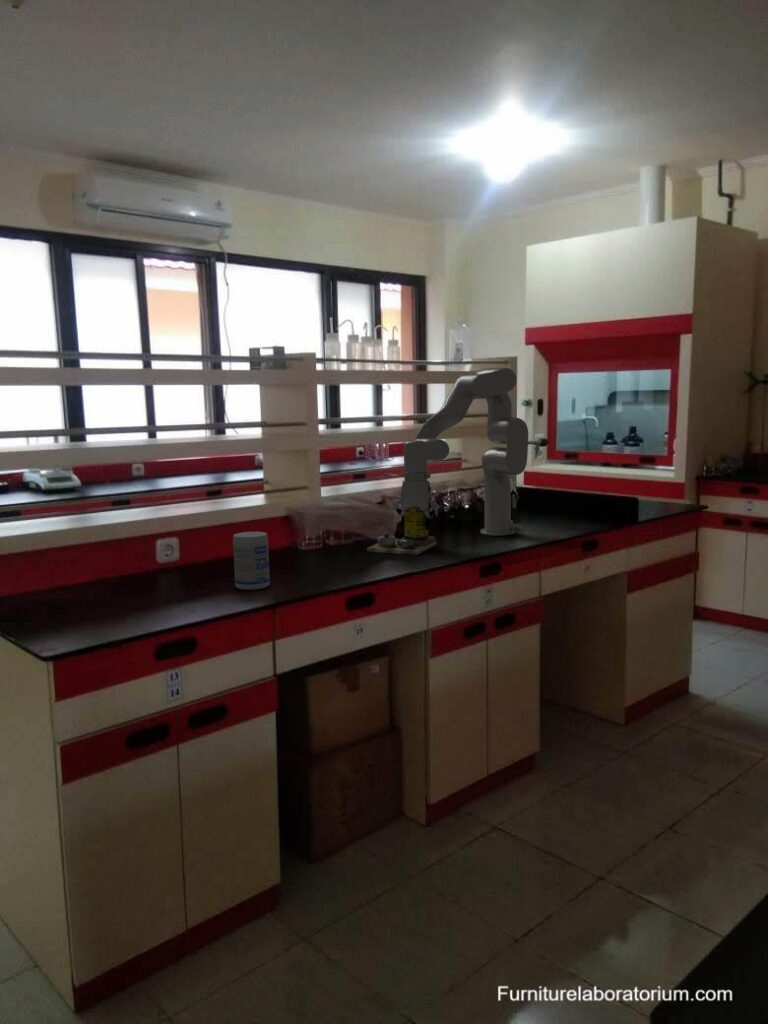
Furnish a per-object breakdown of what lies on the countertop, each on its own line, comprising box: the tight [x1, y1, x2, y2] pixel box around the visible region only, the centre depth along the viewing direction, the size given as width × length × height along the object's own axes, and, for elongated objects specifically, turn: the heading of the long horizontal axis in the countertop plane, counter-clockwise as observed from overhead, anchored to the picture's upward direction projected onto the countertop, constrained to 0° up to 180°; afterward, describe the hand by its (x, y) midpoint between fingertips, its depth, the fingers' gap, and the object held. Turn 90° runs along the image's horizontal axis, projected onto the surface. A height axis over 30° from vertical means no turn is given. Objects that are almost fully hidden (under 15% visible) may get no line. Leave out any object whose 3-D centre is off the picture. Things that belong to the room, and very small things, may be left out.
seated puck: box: [399, 538, 415, 549], centre depth 259 cm, size 5×5×2 cm
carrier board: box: [366, 532, 437, 556], centre depth 264 cm, size 18×18×5 cm
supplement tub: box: [232, 531, 271, 591], centre depth 214 cm, size 10×10×15 cm
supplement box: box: [404, 507, 429, 540], centre depth 265 cm, size 6×6×11 cm
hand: (416, 528), depth 266 cm, fingers closed on supplement box, 7 cm apart
